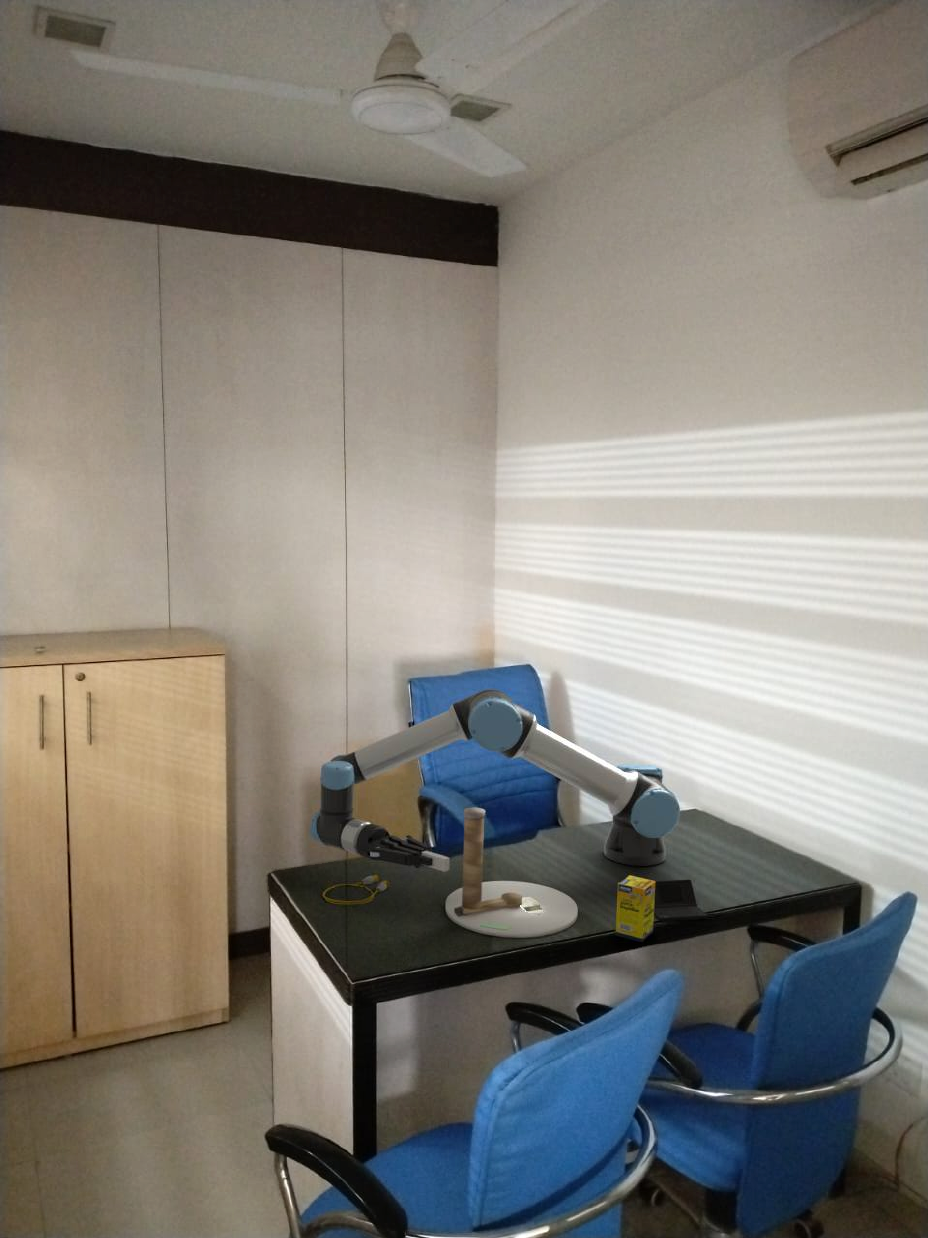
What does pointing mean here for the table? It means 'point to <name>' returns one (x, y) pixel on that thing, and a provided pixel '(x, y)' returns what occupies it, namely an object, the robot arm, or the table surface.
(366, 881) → the extension cord
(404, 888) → the table surface
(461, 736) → the robot arm
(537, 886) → the dial plate
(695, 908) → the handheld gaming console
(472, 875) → the lever
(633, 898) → the supplement box
